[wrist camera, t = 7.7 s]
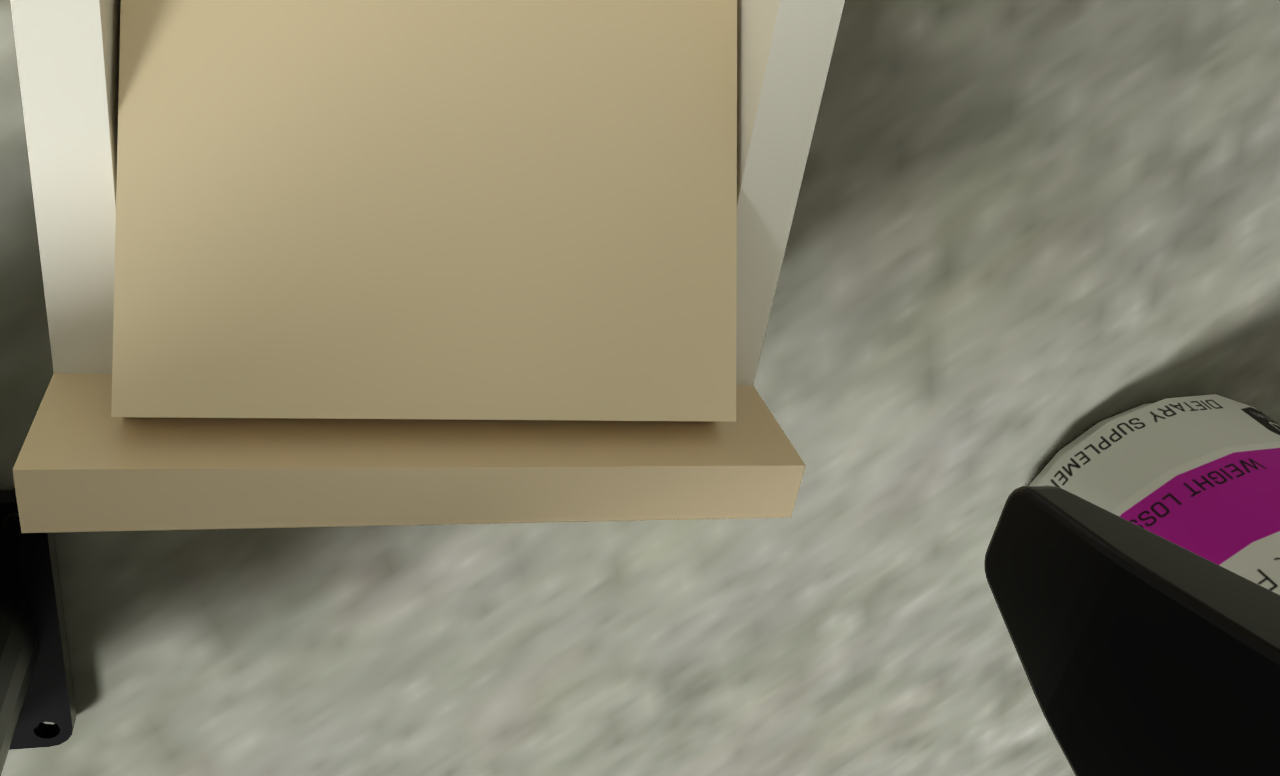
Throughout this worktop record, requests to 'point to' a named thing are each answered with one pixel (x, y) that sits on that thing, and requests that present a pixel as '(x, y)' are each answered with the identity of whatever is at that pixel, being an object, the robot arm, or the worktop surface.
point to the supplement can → (1186, 478)
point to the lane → (411, 258)
